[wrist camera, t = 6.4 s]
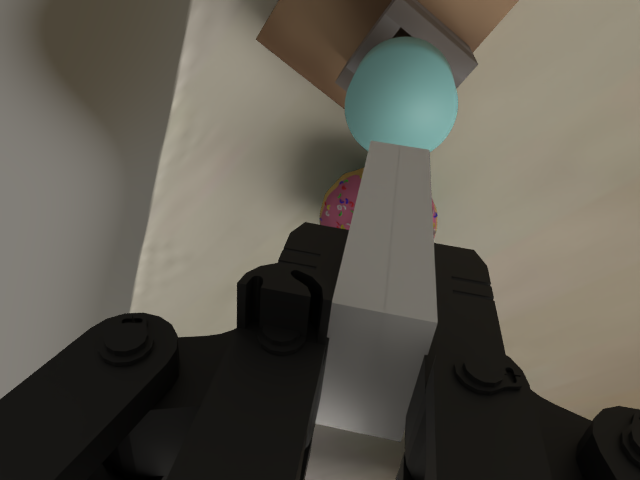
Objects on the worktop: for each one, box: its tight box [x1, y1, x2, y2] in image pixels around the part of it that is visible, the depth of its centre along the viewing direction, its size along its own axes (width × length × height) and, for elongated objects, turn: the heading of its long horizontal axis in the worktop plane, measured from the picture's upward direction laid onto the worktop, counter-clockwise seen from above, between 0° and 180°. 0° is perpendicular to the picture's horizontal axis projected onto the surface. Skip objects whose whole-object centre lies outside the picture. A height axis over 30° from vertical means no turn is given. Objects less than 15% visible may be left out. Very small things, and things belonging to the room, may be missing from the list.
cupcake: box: [320, 168, 437, 237], centre depth 34 cm, size 9×8×12 cm
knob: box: [345, 36, 458, 152], centre depth 23 cm, size 5×5×8 cm
